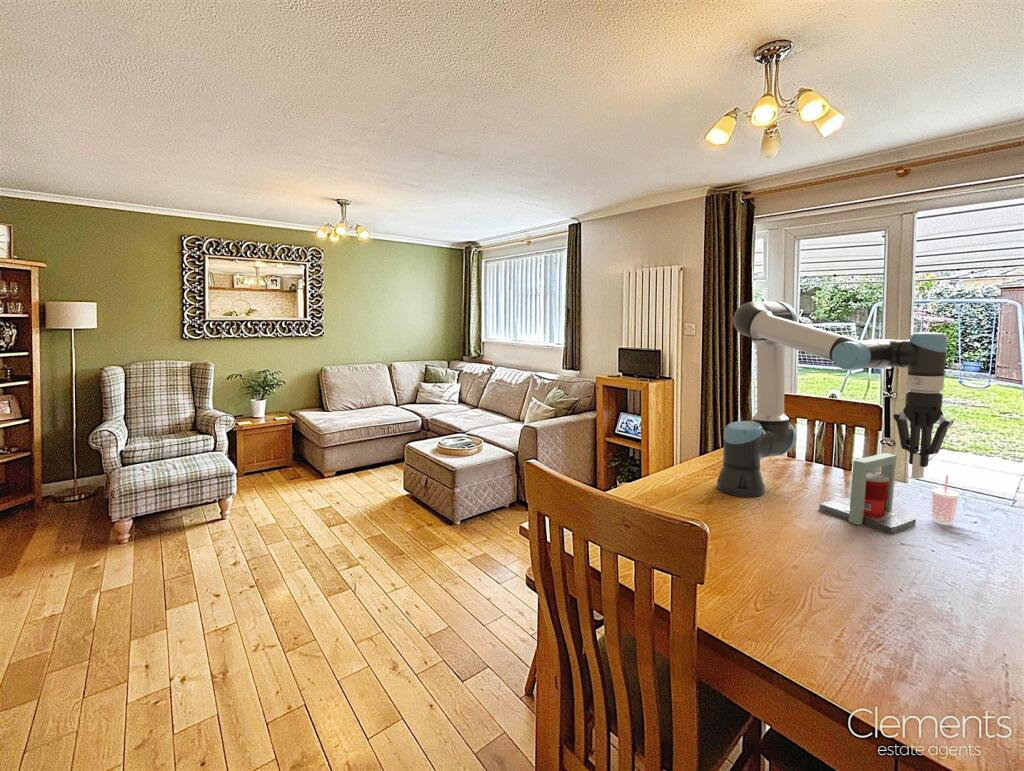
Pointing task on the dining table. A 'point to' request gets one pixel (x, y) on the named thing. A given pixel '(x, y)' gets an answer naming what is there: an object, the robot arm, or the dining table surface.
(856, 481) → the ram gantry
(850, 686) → the dining table surface
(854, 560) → the dining table surface
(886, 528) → the plate
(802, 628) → the dining table surface
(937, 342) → the robot arm
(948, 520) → the beverage cup
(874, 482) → the canned food
